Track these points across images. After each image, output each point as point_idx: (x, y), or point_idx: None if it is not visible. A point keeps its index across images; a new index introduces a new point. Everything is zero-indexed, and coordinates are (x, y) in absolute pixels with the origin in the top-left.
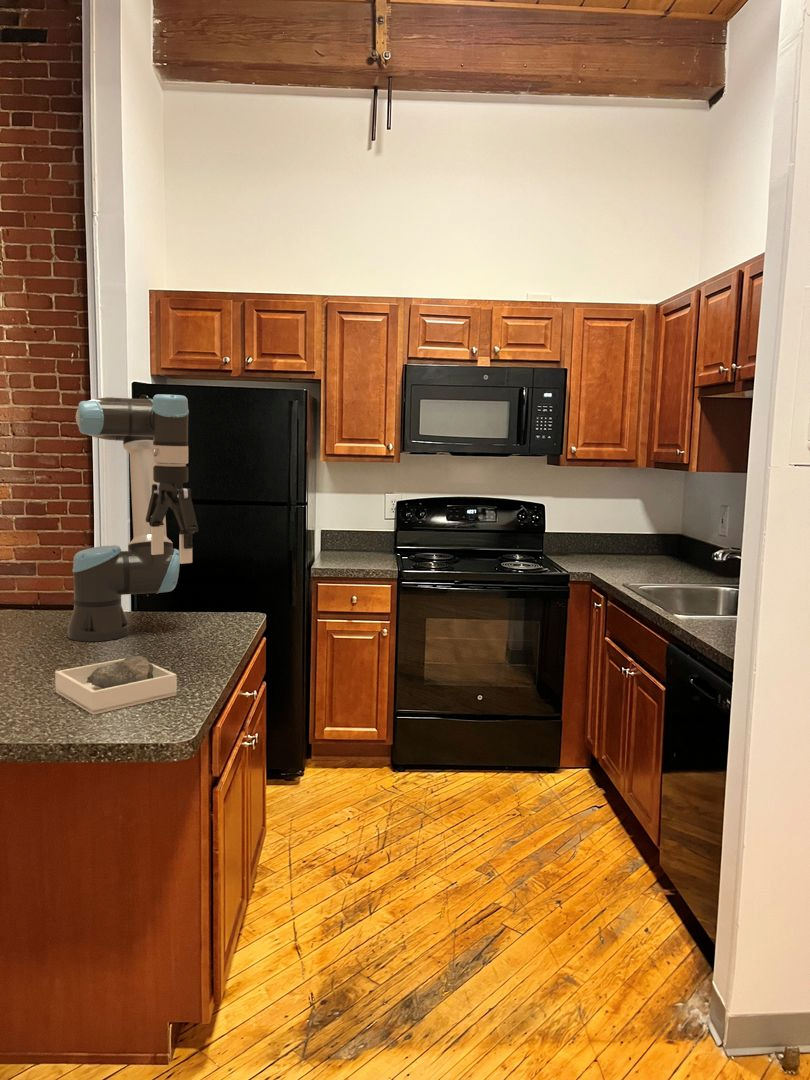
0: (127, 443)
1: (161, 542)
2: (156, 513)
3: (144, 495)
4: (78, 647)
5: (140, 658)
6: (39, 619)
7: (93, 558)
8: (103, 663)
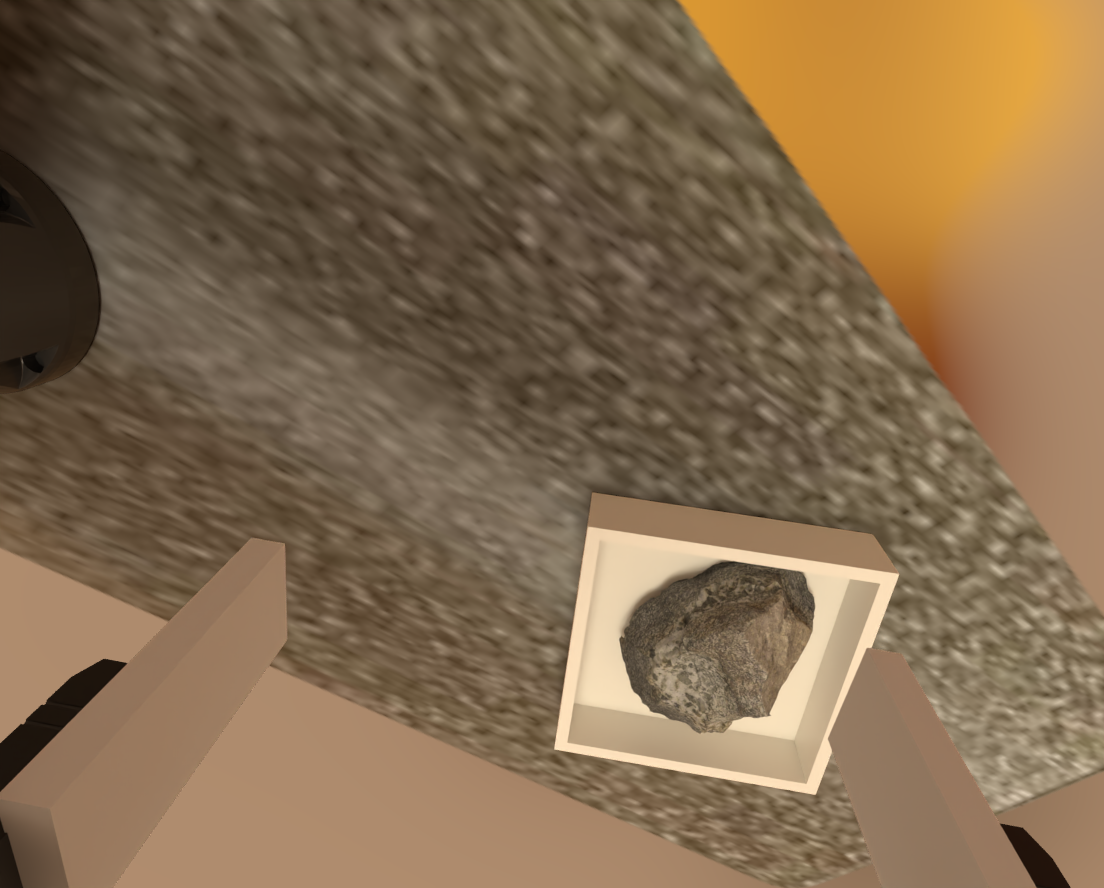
0: None
1: (214, 644)
2: None
3: None
4: (139, 422)
5: (755, 638)
6: None
7: None
8: (583, 635)
